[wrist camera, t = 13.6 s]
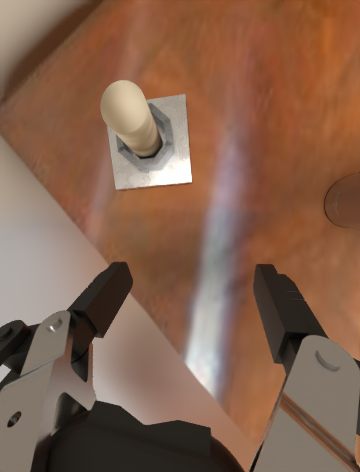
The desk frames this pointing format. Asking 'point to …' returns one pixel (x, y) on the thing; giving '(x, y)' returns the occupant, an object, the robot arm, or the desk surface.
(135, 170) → the socket plate
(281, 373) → the desk surface
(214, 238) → the desk surface
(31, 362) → the robot arm
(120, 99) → the cream rounded cylinder
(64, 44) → the desk surface
